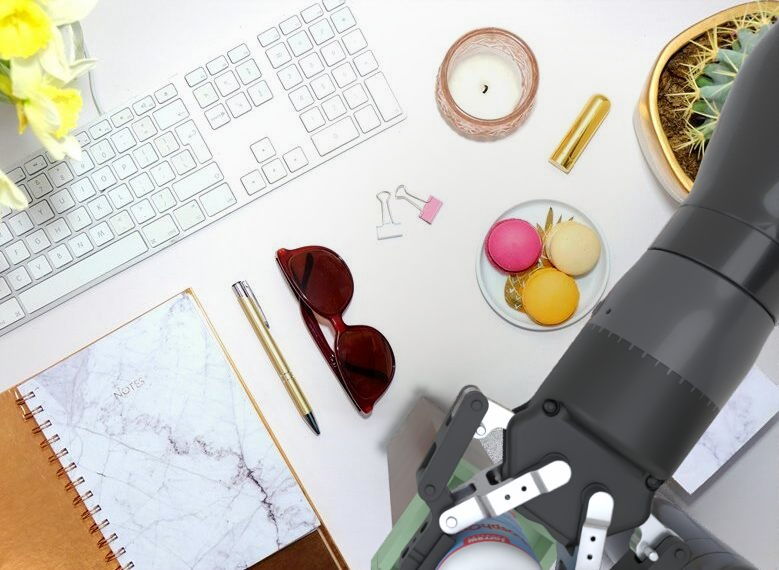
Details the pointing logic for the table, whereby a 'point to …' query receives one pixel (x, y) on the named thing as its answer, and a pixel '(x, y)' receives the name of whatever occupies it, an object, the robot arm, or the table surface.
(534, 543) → the tray
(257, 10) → the table surface
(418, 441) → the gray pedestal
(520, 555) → the pill bottle
